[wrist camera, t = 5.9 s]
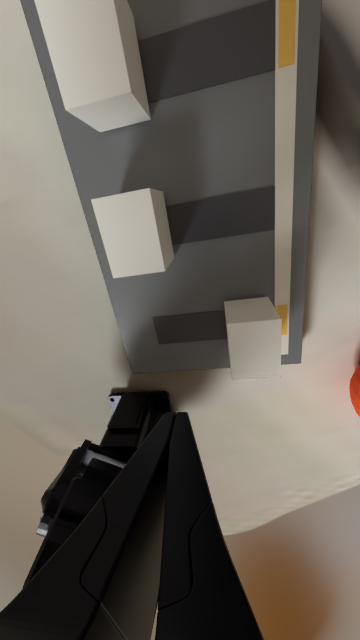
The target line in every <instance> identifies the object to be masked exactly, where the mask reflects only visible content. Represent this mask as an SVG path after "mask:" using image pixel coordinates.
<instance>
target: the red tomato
mask: <svg viewBox="0 0 360 640" xmlns="http://www.w3.org/2000/svg"><path fill="white" fill-rule="evenodd" d="M350 397H351V401H352V404H353V406H354V408H355V410H356V413H357V414H358V415H359V417H360V365H359V366H358V367H357V368H356V370H355V372H354V374H353V376H352V378H351V380H350Z"/></svg>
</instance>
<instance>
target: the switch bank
mask: <svg viewBox="0 0 360 640" xmlns="http://www.w3.org/2000/svg"><path fill="white" fill-rule="evenodd" d="M20 1H21V4H22V8H23V11H24V14H25V18H26V21H27V24H28V28H29V31H30V34H31V38H32V41H33V44H34V48H35V51H36V54H37V58H38V61H39V64H40V68H41V71H42V74H43V78H44V81H45V84H46V87H47V91H48V94H49V97H50V101H51V104H52V107H53V111H54V114H55V117H56V121H57V124H58V127H59V131H60V134H61V137H62V141H63V144H64V147H65V151H66V154H67V157H68V161H69V164H70V167H71V171H72V174H73V177H74V181H75V184H76V187H77V191H78V194H79V197H80V201H81V204H82V207H83V211H84V214H85V217H86V221H87V224H88V227H89V231H90V234H91V237H92V240H93V244H94V247H95V250H96V254H97V257H98V260H99V264H100V267H101V270H102V274H103V277H104V280H105V284H106V287H107V290H108V294H109V297H110V300H111V304H112V307H113V310H114V314H115V317H116V320H117V324H118V327H119V330H120V334H121V337H122V340H123V344H124V347H125V350H126V354H127V357H128V360H129V364H130V367H131V370H132V373H149V372H166V371H182V370H199V369H215V368H230V359H229V351H228V340H227V330H226V319H225V308H224V301H233V300H242V299H251V298H261V297H268V298H269V299H270V301H271V302H272V304H273V306H274V307H275V309H276V311H277V312H278V314H279V315H280V317H281V319H282V332H281V365H282V364H299V363H301V354H302V337H303V320H304V303H305V285H306V268H307V251H308V234H309V216H310V199H311V182H312V164H313V147H314V130H315V113H316V95H317V78H318V61H319V44H320V26H321V9H322V0H127V1H128V4H129V6H130V9H131V11H132V14H133V17H134V23H135V29H136V35H137V41H138V47H139V53H140V58H141V64H142V70H143V76H144V82H145V88H146V94H147V100H148V106H149V112H150V117H151V120H147V121H143V122H139V123H135V124H132V125H128V126H124V127H120V128H116V129H112V130H108V131H104V132H99V131H97V130H96V129H94V128H92V127H91V126H89V125H88V124H86V123H85V122H83V121H82V120H80V119H79V118H77V117H75V116H74V115H72V114H71V113H69V112H68V111H66V110H65V107H64V103H63V100H62V96H61V93H60V89H59V86H58V82H57V79H56V75H55V72H54V68H53V65H52V61H51V58H50V54H49V51H48V47H47V43H46V40H45V36H44V33H43V29H42V26H41V22H40V19H39V15H38V12H37V8H36V5H35V1H34V0H20ZM146 188H151V189H155V190H159V191H163V194H164V200H165V206H166V212H167V218H168V224H169V230H170V235H171V241H172V247H173V253H174V259H173V261H172V262H171V264H170V265H169V267H168V268H167V269H166V271H164V272H157V273H150V274H142V275H135V276H127V277H120V278H113V276H112V272H111V269H110V265H109V262H108V258H107V255H106V251H105V248H104V244H103V241H102V237H101V234H100V230H99V227H98V223H97V219H96V216H95V212H94V209H93V205H92V202H91V199H96V198H101V197H106V196H111V195H116V194H121V193H126V192H131V191H136V190H141V189H146Z"/></svg>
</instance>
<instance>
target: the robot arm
mask: <svg viewBox="0 0 360 640" xmlns="http://www.w3.org/2000/svg"><path fill="white" fill-rule="evenodd" d="M163 396H165V397H163ZM112 398H113V399H112ZM108 402H109V405H110V407H111V410H112V413H113V415H112V417H111V419H110V421H109V424H108V426H107V427H108V428H107V430H106V432H105V435H104V437H103V439H102V441H101V443H100V445H96V444H94V443H91V442H92V441H89V440H86V439H85V441H84V443H83V444H82V446H81V447H78V449H74V450H73V452H72V454H71V455H70V457H69V459H68V461H67V462H66V464H65V466H64V467H63V469H62V471H61V472H60V473H59V475H58V476H57V477H56V478H55V480H54V481H53V482H52V483H51V485H50V486H49V487H48V489H47V490H46V491H45V493H44V495H43V497H42V499H41V504H42V509H43V512H42V515H41V518H40V519H41V521H40V524H39V526H38V529H37V533H36V534H37V535H40V536H43V537H45V538H44V541H43V543H42V545H41V547H40V549H39V552H38V554H37V556H36V558H35V561H34V563H33V565H32V567H31V570H30V572H29V574H28V576H27V578H26V580H25V583H24V586H23V590H22V591H21V592H20V593H19V594H18V595H17V596H16V597H15V598H14V599H13V600H12V601H11V602H10V603H9V604H8V605H7V606H6V607H5V608H4V609H3V610H2V611H1V612H0V640H150V639H151V633H152V628H153V623H154V618H155V613H156V608H157V604H158V611H159V612H158V614H157V625H156V635H155V640H264V638H263V635H262V633H261V630H260V628H259V626H258V623H257V621H256V619H255V616H254V613H253V611H252V608H251V606H250V603H249V601H248V599H247V596H246V594H245V591H244V589H243V586H242V584H241V582H240V579H239V576H238V574H237V571H236V569H235V566H234V564H233V562H232V559H231V556H230V554H229V551H228V548H227V546H226V543H225V540H224V538H223V534H222V531H221V528H220V525H219V522H218V518H217V515H216V512H215V508H214V504H213V502H212V498H211V494H210V491H209V487H208V483H207V480H206V476H205V473H204V469H203V466H202V462H201V458H200V455H199V451H198V448H197V444H196V441H195V437H194V433H193V430H192V426H191V423H190V419H189V416H188V413H187V412H178V413H175V412H173V410H172V406H171V402H170V397H169V394H168V393H167V392H165V391H157V392H135V393H113V394H110V395H109V397H108Z"/></svg>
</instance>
